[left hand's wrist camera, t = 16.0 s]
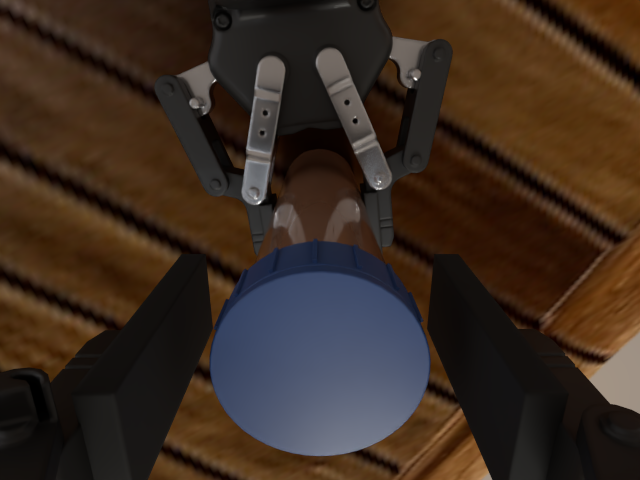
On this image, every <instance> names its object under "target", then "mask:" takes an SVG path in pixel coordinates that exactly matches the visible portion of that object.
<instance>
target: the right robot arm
mask: <svg viewBox="0 0 640 480" xmlns="http://www.w3.org/2000/svg"><path fill="white" fill-rule="evenodd" d="M208 4H209V9H210V15H211V20H212V26H213V37H212V43H211V47H210V50H209V53H208V62H206V63H203V64H201V65H199V66H197V67H195V68H192V69H190V70H188V71H186V72H184V73H181V74H179V75H163V76H161V77H159V78H158V79H157V81H156V83H155V92H156V95H157V97H158V99H159V101H160V102H161V104H162V106H163V108H164V110H165V112H166V114H167V116H168V118H169V120H170V122H171V124H172V126H173V128H174V130H175V132H176V134H177V136H178V138H179V140H180V142H181V144H182V146H183V148H184V150H185V152H186V154H187V156H188V158H189V160H190V162H191V164H192V165H193V167H194V169H195V171H196V173H197V175H198V177H199V179H200V181H201V183H202V185H203V187H204V189H205V191H206V192H207V193H208V194H210V195H212V196H221V195H224V196H229V197H233V198H237V199H239V200H240V201H242V202H243V203H244V205H245V206H246V209H247V214H248V219H249V224H250V230H251V234H252V240H253V246H254V251H255V254H256V255H258V252H259V250H260V247H261V244H262V241H263V238H264V236H265V233H266V230H267V227H268V224H269V222H270V219H271V216H272V213H273V210H274V208H275V205H276V202H277V196H276V194H272V192H271V181H272V176H273V170H274V164H275V158H276V153H277V149H278V144H279V138H280V136H281V135H289V134H294V133H297V132H299V131H301V130H304V129H306V128H309V127H310V128H318V129H325V130H328V129H336V128H342V126H343V128H344V131H345V133H346V135H347V137H348V139H349V142H350V144H351V146H352V148H353V150H354V153H355V155H356V157H357V159H358V161H359V164H360V166H361V168H362V170H363V181H364V183H362V184H360V190H361V196H362V199H363V202H364V205H365V207H366V210H367V213H368V216H369V219H370V221H371V224H372V227H373V230H374V233H375V235H376V238H377V241H378V244H379V247H380V249H381V252H382V247H387V246H391V243H392V241H393V238H394V233H393V220H392V205H391V188H392V186H393V184H394V182H395V181H396V180H398V179H399V178H401V177H403V176H405V175H407V174H409V173H418V172H421V171H423V170H424V169H425V168H426V166H427V164H428V160H429V156H430V152H431V147H432V143H433V138H434V134H435V129H436V125H437V121H438V116H439V112H440V107H441V103H442V99H443V94H444V90H445V85H446V81H447V77H448V72H449V68H450V63H451V59H452V54H453V51H452V47H451V45H450V44H449V43H448V42H447V41H446V40H443V39H437V40H432V41H429V42H424V41H418V40H411V39H405V38H399V37H392V33H391V30H390V28H389V26H388V25H387V23H386V22H385V20H384V18H383V16H382V14H381V11H380V7H379V1H378V0H208ZM388 59H389V60H391V61H392V62H393V63H394V64H395V65H396V68H397V79H398V82H399V83H400V85H401V86H403V87H405V88H408V90H407V95H406V100H405V105H404V110H403V115H402V120H401V125H400V130H399V135H398V140H397V146H396V147H395V148H393V149H391V150H389V151H387V152H385V153H383V152H382V150H381V148H380V145H379V143H378V140H377V137H376V134H375V132H374V129H373V127H372V125H371V122H370V120H369V118H368V115H367V113H366V111H365V108H364V106H363V103H364V101H365V99H366V98H367V96H368V94H369V92H370V91H371V89H372V87H373V85H374V83H375V82H376V80H377V78H378V76H379V75H380V73H381V71H382V69H383V67H384V66H385V64H386V62H387V60H388ZM217 83H219V84H220V85H221V86H222V87H223V88H224V89H225V90H226V91H227V92H228V93H229V94H230V95H231V96H232V97H233V98H234V100H235V101H236V102H237V103H238V104H239V105H240V106H241V107H242V108H243V109H244V110H245V111H246V112H247V113H248V114H249V115H250V116H251V121H250V128H249V135H248V142H247V148H246V165H245V170H243V169H239V168H235V167H234V166H233V164H232V162H231V160H230V158H229V156H228V154H227V152H226V149H225V147H224V145H223V143H222V141H221V139H220V137H219V135H218V133H217V131H216V128H215V126H214V124H213V122H212V120H211V118H210V116H209V113H210V112H212V111H213V109H214V107H215V99H214V95H213V90H214V87H215V85H216V84H217Z"/></svg>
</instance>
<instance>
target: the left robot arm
mask: <svg viewBox="0 0 640 480" xmlns="http://www.w3.org/2000/svg"><path fill="white" fill-rule="evenodd" d="M212 329H213V326H212V315H211V305H210V295H209V285H208V274H207V264H206V254H182V255H181V256H180V257H179V258H178V260H177V261H176V262H175V263H174V265H173V266H172V267H171V268H170V270H169V271H168V272H167V273H166V275H165V276H164V277H163V278H162V280H161V281H160V282H159V283H158V285H157V286H156V287H155V288H154V290H153V291H152V292H151V294H150V295H149V296H148V297H147V299H146V300H145V301H144V302H143V304H142V305H141V306H140V307H139V309H138V310H137V311H136V312H135V314H134V315H133V316H132V317H131V319H130V320H129V321H128V322H127V324H126V325H125V326H124V327H123V329H122V330H105V331H104V332H102V333H100V334H99V335H97V336H96V337H94V338H92V339H91V340H89V341H88V342H87V343H86V344H85V345H84V346H83V347H82V348H81V349H80V350H79V352H78V353H77V354H76V355H75V358H72V359H71V361H70V362H69V363H68V364H67V365H66V366H65V369H63V370H62V371H61V372H60V373H59V374H58V375H57V376H56V377H55V378H54V380H53V381H52V382H51V383H50V381H49V377H48V374H47V373H45V372H44V371H42V370H41V369H35V368H20V369H13V370H9V371H6V372H2V373H0V480H148V478H149V475H150V473H151V471H152V468H153V466H154V464H155V461H156V459H157V457H158V454H159V452H160V450H161V448H162V445H163V443H164V441H165V438H166V436H167V434H168V431H169V429H170V427H171V424H172V422H173V420H174V417H175V415H176V413H177V410H178V408H179V406H180V404H181V401H182V399H183V397H184V394H185V392H186V390H187V387H188V385H189V383H190V380H191V378H192V376H193V373H194V371H195V369H196V366H197V364H198V362H199V360H200V357H201V355H202V353H203V350H204V348H205V346H206V343H207V341H208V339H209V336H210V334H211V332H212ZM427 329H428V332H429V334H430V336H431V339H432V341H433V343H434V346H435V348H436V350H437V353H438V355H439V357H440V360H441V362H442V364H443V366H444V369H445V371H446V373H447V376H448V378H449V380H450V383H451V385H452V387H453V390H454V392H455V394H456V397H457V399H458V401H459V404H460V406H461V408H462V410H463V413H464V415H465V417H466V420H467V422H468V424H469V427H470V429H471V431H472V434H473V436H474V438H475V441H476V443H477V445H478V448H479V450H480V452H481V454H482V457H483V459H484V461H485V464H486V466H487V468H488V471H489V473H490V475H491V478H492V480H640V414H639V413H637V412H635V411H633V410H630V409H627V408H624V407H621V406H618V405H613V404H610V403H609V402H608V401H607V400H606V399H605V398H604V397H603V395H602V394H601V393H600V392H599V391H598V390H597V389H596V388H595V386H594V385H593V384H592V383H591V382H590V381H589V380H588V379H587V378H586V376H585V375H584V374H583V373H582V372H581V371H580V370H579V369H578V368H575V364H574V363H573V362H572V361H571V360H570V359H569V357H568V356H565V353H564V352H563V351H562V350H561V349H560V347H559V346H558V345H557V344H556V343H555V342H554V341H553V340H552V339H550V338H549V337H547V336H545V335H544V334H542V333H540V332H539V331H537V330H536V329H517V327H516V326H515V325H514V324H513V322H512V321H511V320H510V319H509V317H508V316H507V315H506V314H505V312H504V311H503V310H502V309H501V307H500V306H499V305H498V304H497V302H496V301H495V300H494V299H493V297H492V296H491V295H490V294H489V292H488V291H487V290H486V288H485V287H484V286H483V285H482V283H481V282H480V281H479V280H478V278H477V277H476V276H475V275H474V273H473V272H472V271H471V270H470V268H469V267H468V266H467V265H466V263H465V262H464V261H463V260H462V258H461V257H460V256H459V255H458V254H434V264H433V274H432V285H431V295H430V305H429V315H428V326H427Z"/></svg>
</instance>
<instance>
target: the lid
mask: <svg viewBox="0 0 640 480" xmlns="http://www.w3.org/2000/svg"><path fill="white" fill-rule="evenodd" d="M420 322H423V319H422V317H421V314H420V312H419V310H418V307H417V305H416V303H415V300H414V298H413V296H412V293H411V292H409V293H408V292H407V290H406V288H405V287H404V285H403V283H402V282H401V280H400V279H399V278H398V276H397V275H396V274H395V273H394V272H393V269H392V266H391V265H390V264H389V263H388V264H387V265H386V264H385V263H384V262H382V261H381V260H379V259H378V258H376V257H375V256H373V255H372V254H370V253H368V252H366V251H364V250H362V249H359V248H358V245H355V244H354V245H353V246H350V245H347V244H342V243H337V242H328V241H318V240H317V239H313V241H311V242H303V243H297V244H293V245H290V246H287V247H283V248H281V249H278V247H277V248H274V250H273V252H272V253H270V254H268V255H267V256H265V257H263V258H262V259H260V260H259V261H258V262H257V263H255V264H254V265H253V266H252V267H250V269H249V270H248V271H247V270H246V269H245V270H244V271H243V272H242V275H241V277H240V280H239V282H238V283H237V285H236V286H235V288H234V290H233V292H232V294H231V296H230V299H229V300H228V299H226V301H225V303H224V306H223V308H222V310H221V313H220V315H219V317H218V320H217V322H216V324H215V327H214V329H215V330H216V333H215V336H214V339H213V342H212V345H211V352H210V374H211V380H212V384H213V387H214V390H215V393H216V395H217V397H218V399H219V401H220V403H221V405H222V406H223V408H224V409H225V411H226V412H227V414H228V415H229V416H230V417H231V418H232V420H233V421H234V422H235V423H236V424H237V425H238V426H239V427H241V428H242V429H243V430H244V431H245V432H247V433H248V434H250V435H251V436H252V437H254V438H255V439H257V440H259V441H261V442H263V443H265V444H267V445H269V446H272V447H274V448H277V449H279V450H283V451H287V452H290V453H295V454H301V455H310V456H331V455H339V454H345V453H349V452H353V451H357V450H360V449H363V448H366V447H369V446H371V445H373V444H375V443H377V442H379V441H381V440H383V439H384V438H386V437H387V436H389V435H391V434H392V433H393V432H394V431H396V430H397V429H398V428H399V427H401V426H402V425H403V424H404V423H405V422H406V421H407V420H408V419H409V417H410V416H411V415H412V414H413V412H414V411H415V409H416V408H417V407H418V405H419V403H420V401H421V399H422V397H423V395H424V392H425V390H426V387H427V384H428V379H429V374H430V352H429V346H428V342H427V339H426V335H425V333H424V331H423V328H422V326H421V323H420Z"/></svg>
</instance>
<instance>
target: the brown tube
mask: <svg viewBox="0 0 640 480" xmlns="http://www.w3.org/2000/svg"><path fill="white" fill-rule="evenodd" d="M313 239H317V240H318V241H328V242H337V243H342V244H347V245H350V246H353V245H354V244H355V245H358V248H359V249H362V250H364V251H366V252H368V253H370V254H372V255H373V256H375V257H376V258H378V259H379V260H381V261H382V262H384V263H385V261H384V258H383V255H382V252H381V249H380V247H379V244H378V241H377V238H376V235H375V233H374V230H373V227H372V224H371V221H370V219H369V216H368V213H367V210H366V207H365V205H364V202H363V199H362V196H361V193H360V191H359V188H358V185H357V182H356V180H355V177H354V174H353V171H352V169H351V167H350V165H349V164H348V162H347V161H346V160H345V159H344V158H343V157H342V156H340V155H339V154H337V153H335V152H333V151H330V150H326V149H314V150H310V151H307V152H305V153H303V154H301V155H300V156H298V157H297V158H296V159H295V160H294V161H293V162H292V164H291V165H290V167H289V169H288V171H287V174H286V177H285V180H284V182H283V185H282V188H281V191H280V194H279V196H278V199H277V202H276V205H275V208H274V210H273V213H272V216H271V219H270V222H269V224H268V227H267V230H266V233H265V236H264V238H263V241H262V244H261V247H260V250H259V252H258V255H257V258H256V261H255V263H257V262H258V261H259V260H260V259H262V258H263V257H265V256H267V255H268V254H270V253H272V252H273V250H274V248H277V247H278V249H281V248H283V247H287V246H290V245H293V244H297V243H303V242H311V241H313ZM385 264H386V263H385Z"/></svg>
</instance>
